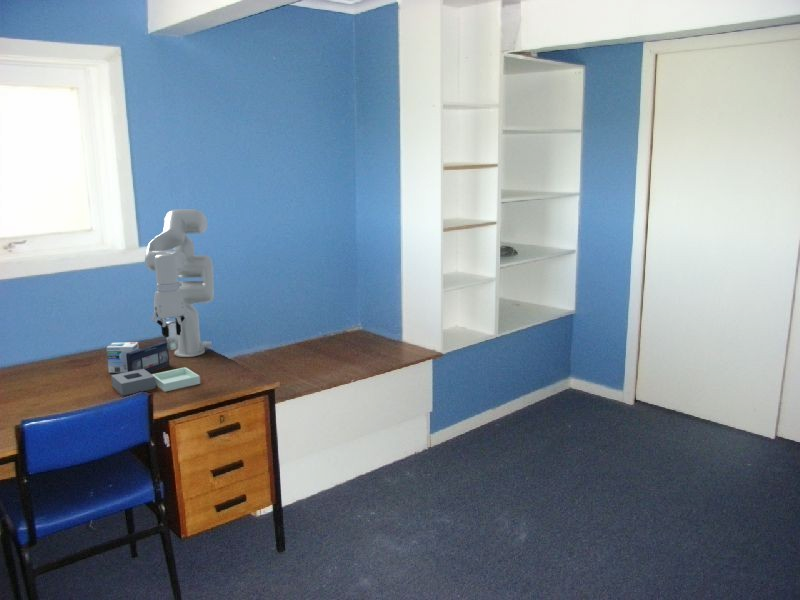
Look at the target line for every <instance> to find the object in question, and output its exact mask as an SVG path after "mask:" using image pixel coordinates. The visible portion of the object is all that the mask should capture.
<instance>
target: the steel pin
mask: <svg viewBox="0 0 800 600" xmlns="http://www.w3.org/2000/svg"><path fill="white" fill-rule="evenodd" d="M166 327H167V329H168V337H165V338H166V339H165V340H166V342H167V349H168V351H169V350H171V351H173V350H174V351H175V350H177V349H178V335H177V323H176V321H175V320H169V321H166Z"/></svg>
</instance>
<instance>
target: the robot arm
mask: <svg viewBox="0 0 800 600" xmlns="http://www.w3.org/2000/svg"><path fill="white" fill-rule="evenodd" d="M162 229H163V230H162V232H161V233H160V234H158V235H156V236H155V237H154V238H153V239H151V240H150V242H148V244H147V246H146V252H145V257H144V263H145V266H146V268H147V270H149V271H151V272H155V281H156V290H157V291H155V292H154V299H153V314H152V316H151V319H150V320H151V321H153V322H155V323H157V324H158V325H159V326H160V328H161V334H162V336H163V337H165V338H166V337H168V329H167V327H166V322H167V319H172V318H174V321H176V323H177V335H178V349H175V350H174V353H173V354H174V356H176V357H180V358H191V357H197V356H200V355H203V354H205V352H206V350H205V348H206V347H211V346H212V345H213V344H212V341H206V340H204V341H201V330H200V317H199V312H198V310H197V308H196V307H195V306H194V305H193V304H207V303H212V302H213V300H214V299H215V284H214V282H215V281H214V280H215V279H214V265H213V261H212V258H211V257H210V256H208V255H206V254H205V255H203V254H201V255H198V254H197V255H196V254H195V245H194V242H193V240H192V239H191V238H190V236H188V234H189V235H191V234H192V235H193V234H204V233H205V232H207V231H208V230H207V229H208V219H207V216H206V215H205V213H203V212H202V210H199V209H195V208H193V209H188V208H187V209H186V208H185V209H179V208H178V209H172V210H170V211H168V212H167V213H166V215H165V217H164V218H163V228H162ZM179 278H180V279H199V278H200V279H202V280H183V281H179ZM159 319H160V320H159Z"/></svg>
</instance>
